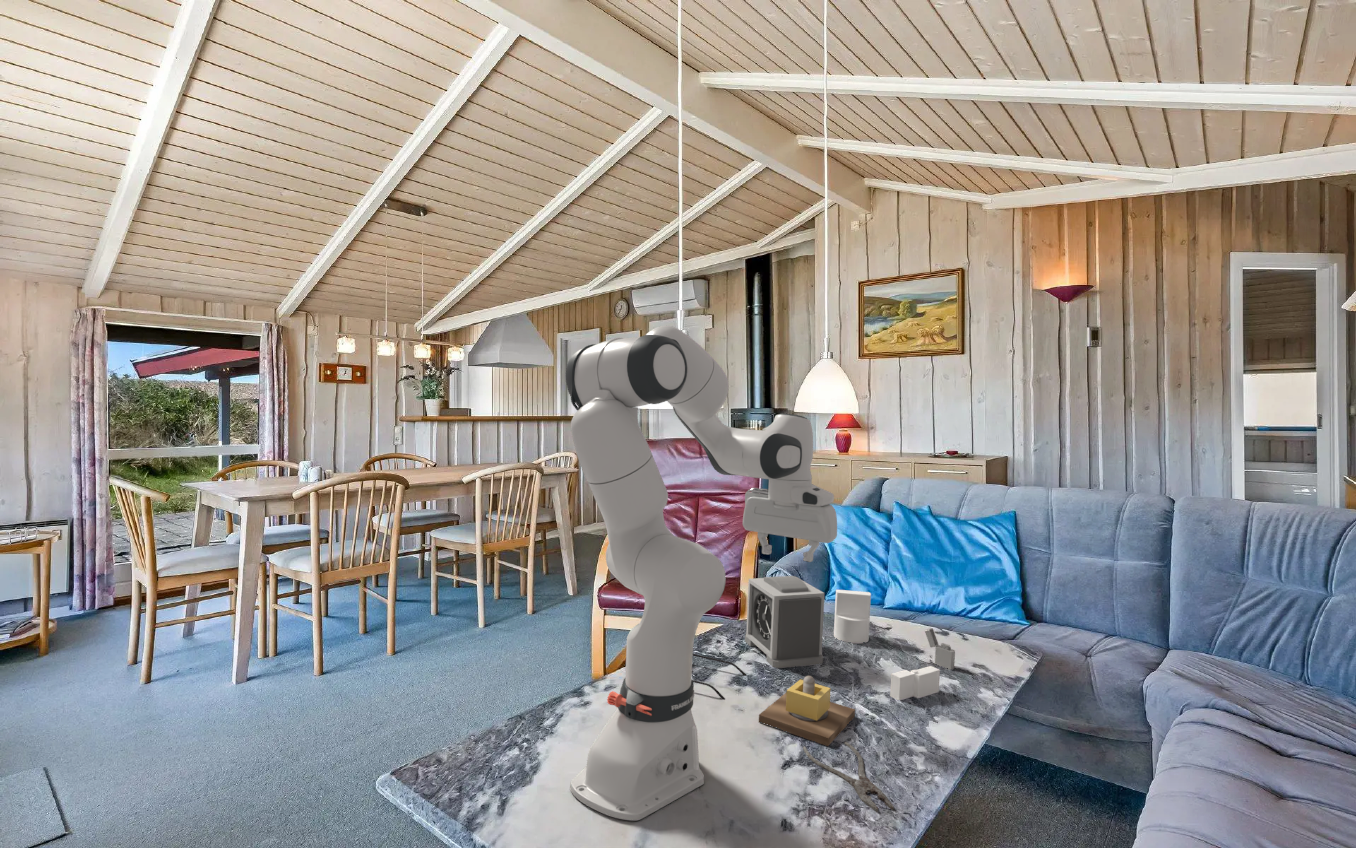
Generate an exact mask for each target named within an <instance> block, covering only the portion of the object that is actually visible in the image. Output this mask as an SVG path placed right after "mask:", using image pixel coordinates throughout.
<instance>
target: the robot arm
mask: <svg viewBox="0 0 1356 848" xmlns="http://www.w3.org/2000/svg"><path fill="white" fill-rule="evenodd" d="M565 382H566V388H567V391H568V394H569V397H570V402H571V404H572V406H573V408H574V409H575V410H576V412H575V413H574V414H573V417H572V418H571V421H570V432H571V437H572V442H573V446H574V449H575V454H576V456H577V459H578V463H579V465H580V468H581V470H582V473H583V475H584V478H585V480H586V482H587V485H588V487H589V489H590V491H591V493H592V496H593V498H594V501H595V502H596V505H597V507H598V509H599V512H600V513H601V516H602V518H603V522H604V525H605V528H606V533H607V541H608V545H607V547H606V551H605V562H606V567H607V568H608V570H609V572H610V574H612V575H613V576H614V577H615V579H616V580H617V581H619V582H620V584H621V585H623V586H624V587H625V588H627V589H629V590H630V591H633V592H635V593H637V594H638V595H641V596H643V598H644V608H643V609H644V610H643V613H642V616H641V619H640V622H639V623H638V624H635V626H633V628H631V630H630V631H629V633H628V634H627V637H626V649H625V650H626V652H625V653H626V654H625V655H626V656H625V677H624V678H623V681H622V685H621V687H620V690H619V693H617V692H616V691H613V690H612V691H610V692H609V694H608V695H607V698H606V700H607V702H606V703H608V704H607V705H611V706H615V707H616V709H615V711H614V712H613V713H612V715H611V716H610V717H609V719H608V720H607V722H606V724H605V725H604V726H603V728H602V729H601V731H600V732H599V733H598V735H597V737H596V738H595V740H594V741H593V742H592V744H591V745H590V747H589V750H588V753H587V759H586V766H584V768H583V769H582V770H580V771H579V772H578V774H576V775H575V776H574V777H573V778H572V779H571V780H570V784H569V789H570V791H571V794H572V795H573V796H574V798H576V799H577V800H578V801H580V803H582V804H584V805H585V806H587V807H589V808H591V809H592V810H595V811H597V812H599V813H601V814H603V815H606V816H608V817H612V818H615V819H619V820H625V821H640V820H642V819H644V818H646V817H648V816H650V815H651V814H653V813H654V812H656V811H658V810H660V809H662V808H665V806H667V805H669V804H670V803H672V802H675V800H677V799H680V798H681V797H683V796H685V795H686V794H689V793H690V792H692V791H693V790H695V789H698V788H699V787H701V786H703V785H704V783H705V775H704V773H703V771H702V769H700V761H699V760H700V759H699V757H700V756H699V739H698V737H699V736H698V728H697V725H696V722H695V720H694V716H693V712H692V708H693V706H694V698H695V690H694V682H693V681H692V680H693V679H692V674H693V673H692V670H693V657H694V656H693V654H694V642H695V639H696V638H695V636H696V633H697V631H698V626H699V624H700V622H701V619H702V617H703V616H704V615H705V614H706V613H707V612H708V611H710V610H711V609H713V608H714V607H715V606H716V605H717V604H718V602H719V601H720V600H721V597H722V596H723V593H724V592H725V587H726V580H727V579H726V570H725V567H724V564H723V563H722V560H720V558H719V557H718V556H716V555H715V554H713V553H712V552H711V551H710V550H708V549H707V548H705V546H702V545H701V544H699V543H697V542H695V541H694V542H693V541H691V540H688V539H685V538H681V537H679V536H676V535H674V534H673V533H672V532H671V531H670V529H669V528H668V526H667V525H666V522H665V518H664V509H665V508H666V505H667V503H668V500H669V493H668V490H667V488H666V485H665V482H664V480H663V478H662V475H661V472H660V470H659V467H658V465H657V463H656V461H655V458H654V455H653V453H652V451H651V449H650V446H649V443H648V441H647V440H646V437H645V436H644V434H643V431H642V429H641V427H640V426H639V425H640V424H639V416H638V415H639V414H638V413H639V407H643V406H647V405H650V404H651V405H659V404H662V403H665V402H667V403H668V404H670V405H671V407H672V409H673V412H674V415H676V417H677V418H678V420H679V421H680V422H681V424H683V426H684V427H685V428H686V429H687V431H688V432H689V433H690V434H691V436H692V437H693V438H694V439H695V440H696V441H697V442H698V444H700V446H701V447H702V448H703V450H704V451H705V453H706V455H707V458H708V460H709V462H710V465H711V466H712V468H713V469H714V470H715V472H717V473H718V474H721V475H724V476H740V477H748V478H754V479H755V478H756V479H763V480H764V479H765V480H768V488H758V487H751V489H748V490H747V491H746V492H745V494H744V505H745V506H744V509H743V517H742V526H743V528H744V529H745V531H748V532H756V533H757V538H758V541H759V543H760V546H761V554H763V555H771V554H772V548H773V545H771V544H769V543H768V539H767V537H768V535H775V536H780V537H787V538H793V539H799V540H805V541H808V546H809V547H810V548H809V550H808V551H805V552H803V558H802V560H803V562H807V563H811V562H813V561H814V553H815V552H816V550H817V548H818V547H819V545H820V543H823V544H829V543H830V544H831V543H832V542H833V541H835V540H836V539H837V536H838V519H837V518H838V517H837V512H836V509H835V507H834V506H833V505H832V504H833V503H834V501H835V495H834V493H833V492H831V491H828V490H826V489H824V488H822V487H820V486H817V485H816V484H813V482H812V480H813V477H812V471H811V467H812V466H811V465H812V462H813V459H814V432H813V427H812V426H813V425H812V422H811V421H810V419H808V418H807V417H805V416H802V415H799V414H793V413H778V414H776V415H775V416H774V418H773V422H771V424H770V425H768V426H766V427H764V428H762V430H761V429H748V428H746V429H745V428H738V427H737V428H736V427H733V426H728V425H726V424H724V423H723V422H722V421H721V419H720V418H719V417H718V416H717V413H718V412H719V411H720V410H721V409H722V408H723V406H724V405H725V402H726V400H727V398H728V394H729V379H728V377H727V375H726V373H725V372H724V370H723V368H722V366H721V365H720V364H719V363H718V362H717V361H716V360H715V359H714V357H712V356H711V355H710V354H709V352H708V351H706V349H704V347H702V346H701V345H700V344H699V343H698V342H697V341H695V339H693V338H692V337H690V336H689V335H687V334H686V333H685V332H684V331H682V330H681V329H679V328H678V327H676V326H673V325H660V326H656V327H654V328H653V329H650V330H649V331H648V332H647V333H645V335H642V336H633V337H617V338H616V337H615V338H612V339H608V340H604V341H601V342H599V343H595V344H588V345H586V346H584V347H582V348H580V349H578V350H577V351H576V352H575V353H573V354H572V355H571V357H569V360H568V361H567V364H566V370H565Z"/></svg>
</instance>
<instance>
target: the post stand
mask: <svg viewBox="0 0 1356 848" xmlns="http://www.w3.org/2000/svg"><path fill="white" fill-rule="evenodd" d="M802 680H803V692H804V693H807V694H810V695H813V696H814V691H815V684H816V680H815V678H814V677H813V676H811V675H806V676H804V678H803V679H802ZM786 694H787V691H786V692H785V693H784V694H782V695H781V696H780V697H779V698H778V699H776V700H775V701H774V702H773V703H772V704H770V705H768V707H767V708H766V709H764V710H763V711H761V713H759V715H758V723H759V722H762V723H765V724H768V725H771V726H773V727H777V728H779V729H781V730H780V731H782V730H783V731H782V732H785V731H787V732H786V733H788V732H789V734H791V735H794V736H797V737H800V738H802V737H803V739H805V740H808V741H812V742H814V741H815V742H814V743H818V744H821V745H824V746H826V747H829V746H830V745H831V744H832V743H833V741H835V739H836V738H837V737H838V736H839V735H840V734H841V733H842V732H843V731H844V730H845V728H846V727H847V726H848V725H849V724H850V723H851V722H850V721H853V719H854V718H855V716H856V709H855V708H851V707H849V706H846V705H841V704H839V703H836V702H832V701H830V708H829V709H828V710H827V711H826V712H825V713H824V714H823V715H822V716H821V717H820V718H819V719H818V720H817V721H816V720H813V719H810V718H807V717H804V716H801V715H798V714H795V713H792V712H788V711H786ZM849 722H850V723H849ZM762 723H761V724H762ZM765 724H764V725H765ZM847 724H848V725H847ZM768 725H767V726H768ZM771 726H770V727H771ZM773 727H772V728H773ZM779 729H778V730H779ZM841 731H842V732H841Z"/></svg>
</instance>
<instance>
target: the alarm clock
mask: <svg viewBox="0 0 1356 848" xmlns="http://www.w3.org/2000/svg"><path fill="white" fill-rule="evenodd" d="M747 583H748V585H747V586H748V588H747V608H746V609H747V611H746V632H745V635H744V642H745V644H747V645H748V646H749V647H758V649H759V650H760V651H762V652H763V653H764V654H765V655H766V658H765V659H766V660H765V661H766V662H767V664H769V665H770V666H771V667H772V668H775V669H784V668H785V669H786V668H794V667H795V666H796V667H805V666H815V665H816V664H818V665H822V664H823V663H824V655H823V637H824V636H823V635H824V633H823V630H824V612H825V611H824V610H825V609H824V608H825V592H823V591H822V590H820V589H818V588H817V587H816V586H815V587H814V586H813V585H811V584H809V583H807V582H806V581H804V580H802V579H801V578H799V577H797V576H795V575H783V576H765V577H759V578H748V582H747ZM796 667H795V668H796Z"/></svg>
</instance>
